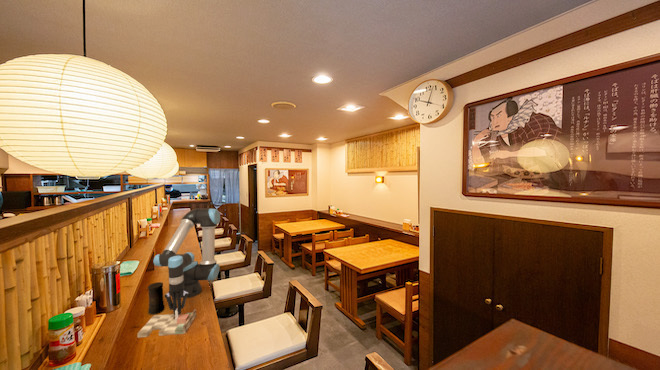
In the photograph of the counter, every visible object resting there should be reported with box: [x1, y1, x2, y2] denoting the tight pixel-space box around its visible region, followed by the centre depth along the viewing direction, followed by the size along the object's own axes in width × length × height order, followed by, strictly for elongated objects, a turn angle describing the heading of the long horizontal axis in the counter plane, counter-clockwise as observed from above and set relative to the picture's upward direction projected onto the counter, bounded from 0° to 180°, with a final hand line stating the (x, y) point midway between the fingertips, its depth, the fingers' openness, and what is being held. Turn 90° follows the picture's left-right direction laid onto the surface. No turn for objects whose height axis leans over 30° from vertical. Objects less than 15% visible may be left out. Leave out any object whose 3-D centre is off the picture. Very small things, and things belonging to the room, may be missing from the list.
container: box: [147, 281, 165, 316], centre depth 165 cm, size 9×9×18 cm
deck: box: [136, 308, 197, 339], centre depth 150 cm, size 17×25×4 cm
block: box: [177, 313, 189, 324], centre depth 151 cm, size 5×5×3 cm
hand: (177, 319), depth 151 cm, fingers closed
